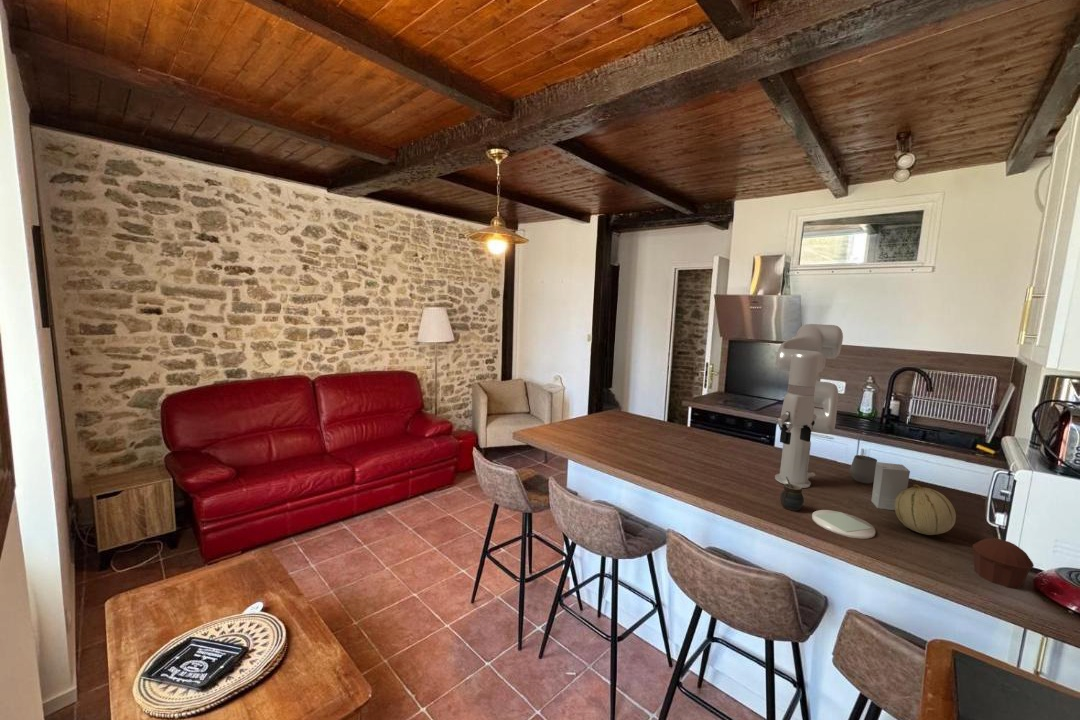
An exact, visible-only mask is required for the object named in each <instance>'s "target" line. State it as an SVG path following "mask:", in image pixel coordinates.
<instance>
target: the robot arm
mask: <svg viewBox="0 0 1080 720" xmlns="http://www.w3.org/2000/svg"><path fill="white" fill-rule="evenodd" d="M843 338H844V334H843V330H842V329H841V328H840V327H839V326H838V325H835V324H822V323H821V324H820V323H807V324H804V325H802V326H800V327H799V328H798V330H797V332H796V335H795V336H792V337H790V339H788V340H786V341H784V342H782V343H780V345H779V347H778V349H777V353H776V355H775V364H776V365H775V366H776V367H777V369H779V370H781V371H784V372H789V373H788V374H789V375H788V383H787V390H786V391H787V393H786V394H785V396H784V398H783V403H782V407H781V413H780V416H779V417H778V418H777V423H778V427H779V430H780V435H779V442H780V443H782V450H781V452H782V453H781V460H780V461H781V462H780V468H779V473H777V474H775V475H774V479H775V481H777V482H779V483H780V484H783V485H784V484H788V481H787V478H788V480H789V482H790V484H795V485H798V486H800V487H801V488H802V489H803V488H804V489H805V488H806V489H807V488H810V487H811V485H812V483H811V481H810V480H809V479H810V478H815V477H816V473H815V472H808V470H809V469H808V468H809V461H810V455H811V454H810V452H811V447H812V446H811V445H812V441H811V435H812V433H817V434H822V435H823V434H825V435H831V434H832V433H833V432H834V431H835V428H836V424H837V423H836V422H837V412H838V404H839V390H838V387H837V385H836V384H835V383H832V382H828V381H827V382H826V381H819V380H818V378H819V377H818V375H819V373H821V372H822V371H823V370H824V369H825V368H826V362H827V361H826V359H829V360H831V359H836V358H837V357H839V356H840V353H841V351H842V345H843V341H844V339H843ZM815 406H820V407H822V408H817V407H815ZM786 477H787V478H786Z"/></svg>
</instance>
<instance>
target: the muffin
mask: <svg viewBox="0 0 1080 720" xmlns="http://www.w3.org/2000/svg"><path fill="white" fill-rule="evenodd" d="M972 549H973V550H972V551H973V565H974V566H973V570H974V572H975V573H977V575H978V576H979V577H980V578H982V579H984V580H987V581H988V582H990V583H992V584H994V585H995V584H996V585H1000V586H1002V587H1005V588H1010V589H1020V588H1021V587H1022V586H1024V583H1025V580H1026V578H1027V577H1028V575H1029V572H1030V570H1031V569H1033V567H1035V565H1034V562H1033V561H1032V559H1031V558H1030V557H1029V555H1028V554H1027V552H1025V551H1024V550H1023V549H1022V548H1021V547H1019V546H1018V545H1016V544H1014V543H1013V542H1010V541H1007V540H1005V539H1000V538H995V537H994V538H990V537H989V538H984V539H981V540H979V541H977V542H975V543H973V544H972Z"/></svg>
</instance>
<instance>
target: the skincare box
mask: <svg viewBox="0 0 1080 720" xmlns="http://www.w3.org/2000/svg"><path fill="white" fill-rule="evenodd" d="M910 473H911V471H910V469H908V468H907V467H906V466H905V465H903V464H901V463H900V464H899V463H889V462H888V463H887V462H880V461H877V462H876V468H875V476H874V481H873V487H872V494H871V501H870V502H872V504H873V505H874V506H875V508H877V509H881V510H888V511H895V500H896V497H897V496H898V494H899V493H900V492H901V491H903V490H905V489H907V488H908V487H909V480H910V475H911V474H910Z"/></svg>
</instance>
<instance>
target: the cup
mask: <svg viewBox="0 0 1080 720" xmlns="http://www.w3.org/2000/svg"><path fill="white" fill-rule="evenodd" d="M876 462H878V460H877V459H876V458H875V457H871V456H868V455H862V454H861V455H860V454H856V455H854V457H853V459H852V463H851V465H850V468H849V472H850V474H851V476H852V477H851V478H852V479H853V480H854V481H856V482H859V483H862V484H872V483H874V476H875V468H876Z"/></svg>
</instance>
